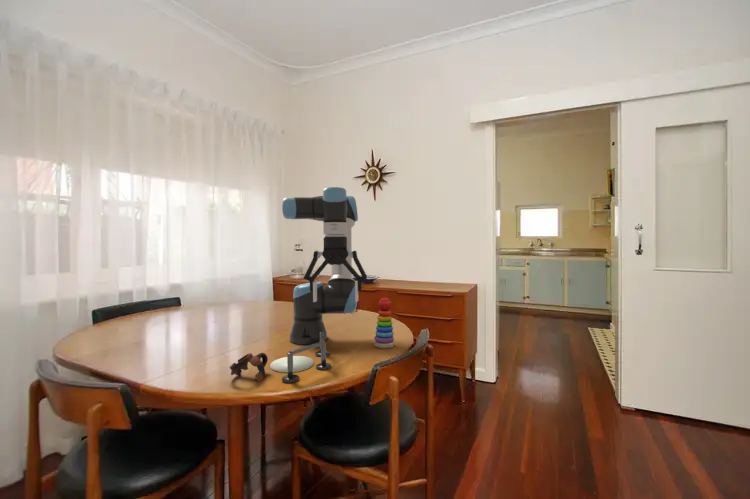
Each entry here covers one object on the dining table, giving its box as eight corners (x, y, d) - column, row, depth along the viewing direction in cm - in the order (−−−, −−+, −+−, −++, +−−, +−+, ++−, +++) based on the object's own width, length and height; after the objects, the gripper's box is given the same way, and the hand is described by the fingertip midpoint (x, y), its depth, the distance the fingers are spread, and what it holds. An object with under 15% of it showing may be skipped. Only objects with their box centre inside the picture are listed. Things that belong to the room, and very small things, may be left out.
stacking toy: (393, 349, 133) (392, 300, 132) (372, 348, 135) (371, 299, 134) (396, 343, 141) (395, 296, 140) (376, 342, 142) (375, 295, 142)
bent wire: (260, 371, 112) (259, 345, 112) (322, 351, 132) (322, 328, 131) (288, 384, 102) (288, 355, 102) (351, 360, 122) (351, 335, 122)
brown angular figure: (254, 388, 102) (238, 363, 101) (235, 395, 106) (220, 372, 106) (280, 363, 112) (266, 341, 112) (262, 371, 117) (248, 350, 116)
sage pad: (262, 365, 118) (262, 364, 118) (296, 354, 128) (296, 353, 128) (287, 376, 109) (287, 374, 109) (322, 363, 119) (322, 362, 119)
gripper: (293, 236, 111) (295, 303, 112) (373, 235, 111) (373, 303, 112) (299, 236, 119) (300, 299, 120) (374, 235, 118) (374, 299, 119)
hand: (335, 301), depth 116 cm, fingers open, 13 cm apart
